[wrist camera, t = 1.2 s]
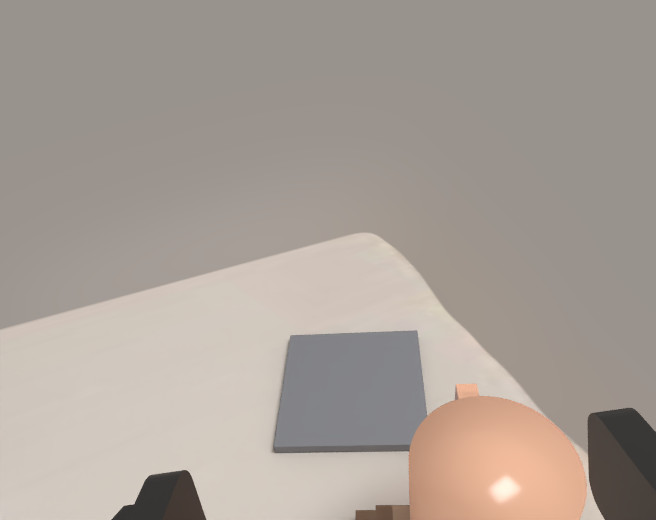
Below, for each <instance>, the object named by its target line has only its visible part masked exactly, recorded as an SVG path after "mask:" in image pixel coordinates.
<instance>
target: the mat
mask: <svg viewBox="0 0 656 520" xmlns="http://www.w3.org/2000/svg"><path fill="white" fill-rule="evenodd" d="M426 417H427V411H426V402H425V394H424V385H423V376H422V368H421V359H420V350H419V342H418V333H417V331H392V332H367V333H341V334H316V335H291V336H290V342H289V349H288V356H287V362H286V369H285V375H284V382H283V389H282V395H281V402H280V408H279V415H278V422H277V428H276V435H275V441H274V450H275V453H292V452H359V451H410V445H411V442H412V439H413V436H414V434H415V432H416V430H417V428H418V427H419V425H420V424H421V423H422V421H423V420H424V419H425V418H426Z"/></svg>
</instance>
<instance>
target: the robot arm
mask: <svg viewBox="0 0 656 520" xmlns="http://www.w3.org/2000/svg"><path fill="white" fill-rule="evenodd" d="M588 462H589V481H590V486H591V490H592V493H593V496H594V499H595V502H596V504H597V506H598V508H599V510H600V512H601V514H602V515H603V517H604V519H605V520H656V432H655V431H654V430H653V429H652V428H651V426H650V425H649V424H648V423H647V422H646V421H645V420H644V419H643V417H642V416H641V415H640V414H639V413H638V412H637V411H636V410H635V409H633V408H625V409H618V410H611V411H604V412H597V413H591V414H590V415H589V417H588ZM112 520H206V518H205V515H204V512H203V509H202V506H201V503H200V500H199V497H198V494H197V491H196V488H195V485H194V482H193V479H192V477H191V475H190V473H189V472H188V471H187V470H183V471H176V472H169V473H162V474H155V475H150V476H149V477H148V478H147V479H146V480H145V482H144V484H143V487H142V489H141V491H140V493H139V495H138V497H137V500H136V502H135V504H134V505H127V506H124V507H123V508H122V509H121V510H120V511H119V512H118V513H117V514H116V515H115V516H114V517H113V519H112Z"/></svg>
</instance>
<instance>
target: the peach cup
mask: <svg viewBox="0 0 656 520" xmlns="http://www.w3.org/2000/svg"><path fill="white" fill-rule="evenodd" d="M409 495H410V520H580V517H581V514H582V512H583V509H584V506H585V501H586V496H587V483H586V476H585V472H584V468H583V465H582V462H581V460H580V458H579V455H578V453H577V452H576V450H575V448H574V446H573V445H572V443H571V442H570V441H569V439H568V438H567V437H566V435H565V434H564V433H563V432H562V431H561V430H560V429H559V428H558V427H557V426H556V425H555V424H553V423H552V422H551V421H550V420H549V419H547V418H546V417H544V416H543V415H541V414H540V413H538V412H536V411H535V410H533V409H531V408H529V407H527V406H525V405H522V404H520V403H517V402H514V401H511V400H507V399H503V398H498V397H490V396H479V393H478V388H477V384H456V392H455V400H454V401H451V402H449V403H446V404H444V405H442V406H440V407H439V408H437V409H436V410H434V411H433V412H432V413H430V414H429V415H428V416H427V417H426V418H425V419H424V420H423V421H422V423H421V424H420V425H419V427H418V428H417V430H416V432H415V434H414V436H413V439H412V442H411V445H410V451H409Z"/></svg>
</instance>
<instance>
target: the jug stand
mask: <svg viewBox="0 0 656 520" xmlns="http://www.w3.org/2000/svg"><path fill="white" fill-rule="evenodd" d="M356 520H410V505H376V510H356Z"/></svg>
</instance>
